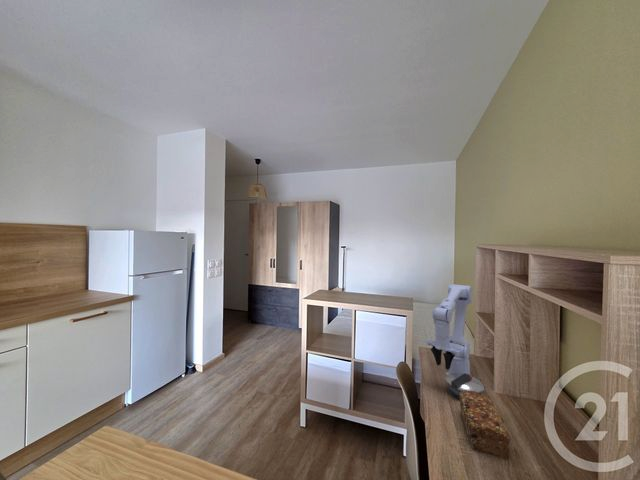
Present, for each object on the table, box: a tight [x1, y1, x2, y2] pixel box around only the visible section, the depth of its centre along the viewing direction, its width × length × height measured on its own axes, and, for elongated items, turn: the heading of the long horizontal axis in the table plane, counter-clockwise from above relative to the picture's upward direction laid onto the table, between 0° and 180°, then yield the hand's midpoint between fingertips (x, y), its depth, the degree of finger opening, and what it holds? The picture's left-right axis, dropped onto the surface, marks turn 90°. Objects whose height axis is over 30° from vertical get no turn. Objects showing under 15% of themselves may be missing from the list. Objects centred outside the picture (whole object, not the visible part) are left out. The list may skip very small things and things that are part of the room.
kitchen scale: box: [446, 382, 484, 401], centre depth 103 cm, size 18×14×4 cm
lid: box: [445, 373, 485, 393], centre depth 105 cm, size 16×14×3 cm
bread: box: [459, 390, 510, 458], centre depth 83 cm, size 19×11×10 cm, turn 159°
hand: (443, 366), depth 107 cm, fingers open, 4 cm apart
